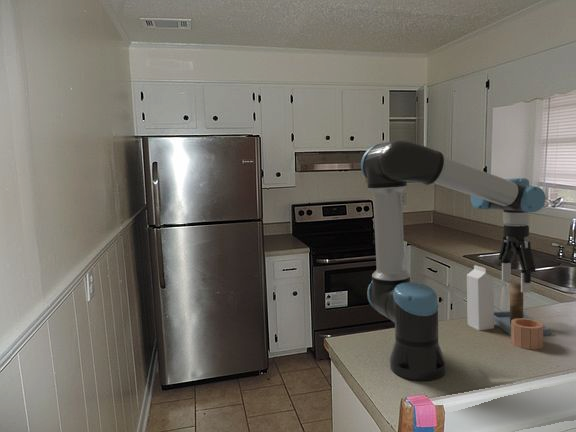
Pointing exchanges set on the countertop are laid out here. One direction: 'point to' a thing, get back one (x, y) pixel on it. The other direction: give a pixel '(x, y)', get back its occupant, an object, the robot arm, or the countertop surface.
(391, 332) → the countertop surface
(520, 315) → the baguette
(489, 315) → the milk
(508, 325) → the tray
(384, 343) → the countertop surface
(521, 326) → the cup
